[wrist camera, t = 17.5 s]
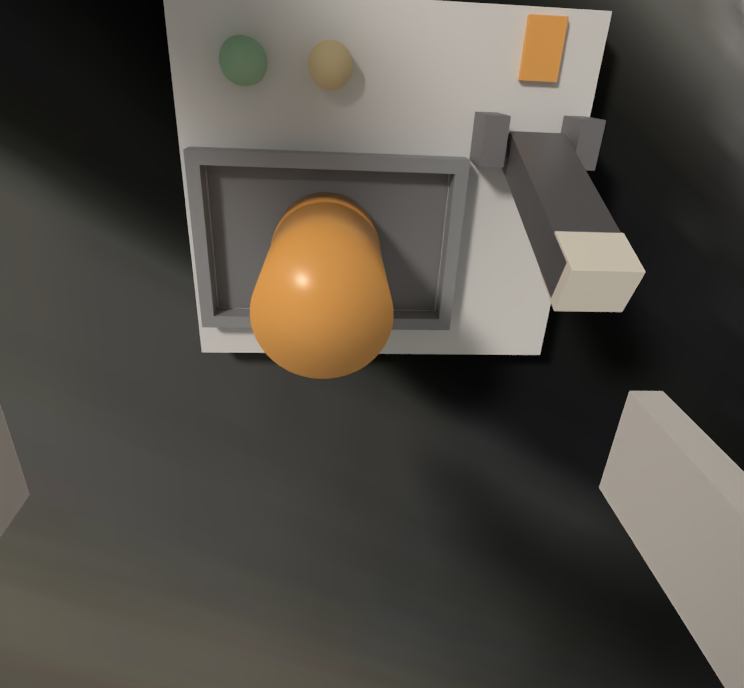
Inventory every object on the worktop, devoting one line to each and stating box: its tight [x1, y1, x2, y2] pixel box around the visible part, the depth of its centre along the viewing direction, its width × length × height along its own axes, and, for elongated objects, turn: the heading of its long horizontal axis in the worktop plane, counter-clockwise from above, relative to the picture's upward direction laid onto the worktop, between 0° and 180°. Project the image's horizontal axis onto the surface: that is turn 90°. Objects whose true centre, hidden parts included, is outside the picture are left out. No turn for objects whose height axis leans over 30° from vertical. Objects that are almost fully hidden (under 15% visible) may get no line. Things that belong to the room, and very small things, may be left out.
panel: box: [163, 0, 612, 355], centre depth 25 cm, size 16×18×4 cm
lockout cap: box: [250, 192, 393, 379], centre depth 22 cm, size 5×5×8 cm
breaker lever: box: [502, 131, 646, 312], centre depth 21 cm, size 2×2×10 cm
